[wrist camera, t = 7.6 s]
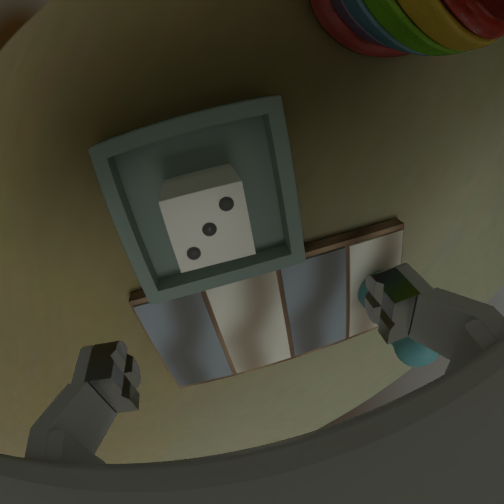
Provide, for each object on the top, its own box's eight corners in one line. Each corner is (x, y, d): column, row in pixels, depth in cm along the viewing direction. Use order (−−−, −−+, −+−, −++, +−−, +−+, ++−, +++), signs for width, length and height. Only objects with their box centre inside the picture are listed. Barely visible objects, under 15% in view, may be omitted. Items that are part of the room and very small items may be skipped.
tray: (270, 95, 19) (280, 95, 17) (295, 246, 25) (306, 261, 23) (97, 143, 18) (87, 149, 16) (152, 286, 24) (150, 305, 22)
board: (396, 218, 26) (405, 224, 24) (388, 314, 32) (394, 321, 30) (130, 292, 24) (128, 303, 22) (179, 379, 30) (179, 389, 28)
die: (229, 163, 20) (241, 181, 16) (242, 223, 22) (256, 254, 18) (163, 180, 19) (158, 202, 15) (180, 239, 21) (181, 273, 18)
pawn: (396, 262, 26) (461, 327, 18) (392, 298, 28) (447, 363, 20) (356, 276, 26) (417, 351, 18) (355, 312, 28) (405, 385, 20)
